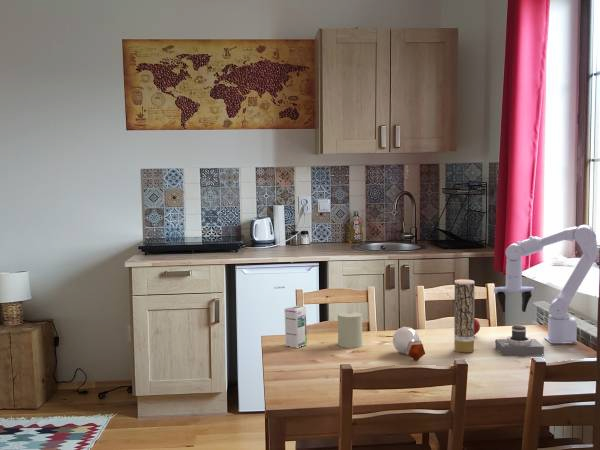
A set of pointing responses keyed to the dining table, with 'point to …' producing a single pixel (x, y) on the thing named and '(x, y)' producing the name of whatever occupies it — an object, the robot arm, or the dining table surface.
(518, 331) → the lens
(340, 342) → the can
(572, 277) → the robot arm
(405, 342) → the potion bottle
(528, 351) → the block
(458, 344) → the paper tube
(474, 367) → the dining table surface
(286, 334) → the syrup box
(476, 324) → the onion
